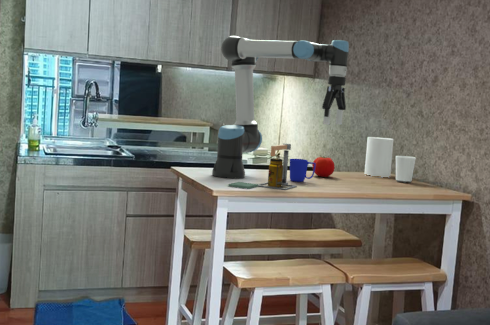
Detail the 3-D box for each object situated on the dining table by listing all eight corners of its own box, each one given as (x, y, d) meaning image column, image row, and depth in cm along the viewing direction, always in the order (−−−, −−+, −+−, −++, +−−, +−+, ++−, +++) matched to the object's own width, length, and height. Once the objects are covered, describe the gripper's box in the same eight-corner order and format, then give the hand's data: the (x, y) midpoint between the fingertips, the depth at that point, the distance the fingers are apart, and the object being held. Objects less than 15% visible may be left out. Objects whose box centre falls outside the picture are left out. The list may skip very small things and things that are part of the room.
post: (278, 184, 292) (281, 150, 291) (281, 183, 296) (284, 149, 294) (286, 185, 291) (288, 151, 289) (289, 184, 294) (291, 150, 293)
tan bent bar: (268, 155, 278) (269, 145, 278) (283, 153, 294) (284, 143, 294) (276, 156, 277) (277, 145, 276) (291, 154, 293) (292, 144, 292)
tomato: (334, 176, 339) (336, 156, 338) (333, 179, 327) (335, 158, 326) (312, 174, 341) (314, 154, 340) (310, 176, 328) (312, 156, 327)
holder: (255, 186, 282) (255, 185, 282) (267, 183, 294) (267, 182, 294) (285, 190, 276) (285, 188, 276) (296, 186, 288) (296, 185, 288)
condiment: (263, 185, 285) (265, 157, 284) (277, 185, 291) (279, 157, 289) (275, 188, 279) (277, 159, 278) (289, 187, 285) (291, 159, 284)
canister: (370, 177, 347) (374, 138, 345) (360, 173, 360) (363, 136, 358) (394, 177, 350) (398, 139, 348) (383, 174, 363) (386, 137, 361)
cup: (398, 180, 340) (400, 155, 339) (416, 182, 335) (418, 157, 333) (390, 181, 332) (392, 156, 331) (409, 184, 326) (411, 158, 325)
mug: (313, 183, 303) (315, 161, 302) (286, 181, 305) (288, 159, 304) (315, 181, 311) (316, 160, 310) (289, 179, 313) (291, 158, 312)
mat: (228, 186, 275) (228, 183, 275) (238, 184, 285) (238, 181, 284) (248, 188, 272) (248, 186, 272) (257, 186, 281) (258, 184, 281)
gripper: (333, 74, 281) (329, 125, 283) (355, 78, 302) (351, 125, 304) (317, 73, 284) (312, 123, 287) (340, 77, 306) (336, 123, 308)
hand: (332, 124), depth 295 cm, fingers open, 13 cm apart
